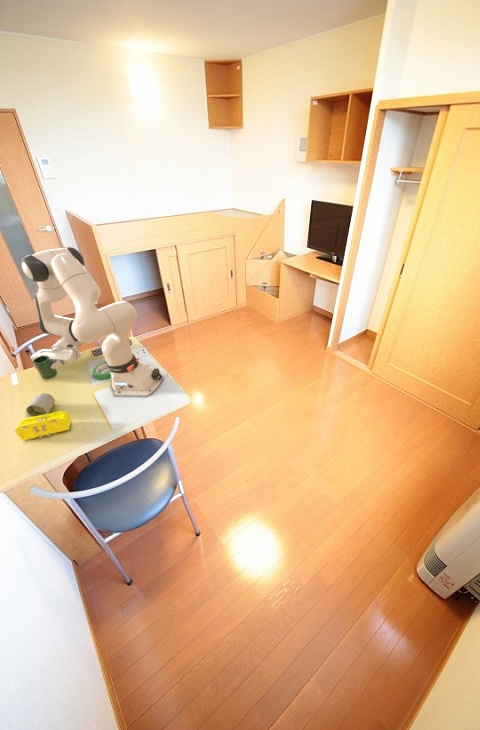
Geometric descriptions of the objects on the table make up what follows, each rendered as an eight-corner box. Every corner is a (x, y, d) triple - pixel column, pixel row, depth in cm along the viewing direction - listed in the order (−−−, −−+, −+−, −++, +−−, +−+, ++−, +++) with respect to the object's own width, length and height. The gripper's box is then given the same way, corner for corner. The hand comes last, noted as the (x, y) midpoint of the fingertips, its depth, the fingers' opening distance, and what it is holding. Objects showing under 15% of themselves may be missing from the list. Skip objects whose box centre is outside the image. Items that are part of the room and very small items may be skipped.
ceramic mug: (59, 403, 128) (51, 390, 124) (50, 417, 122) (41, 404, 117) (33, 405, 128) (24, 392, 123) (23, 420, 121) (13, 407, 116)
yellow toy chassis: (23, 442, 112) (11, 428, 107) (27, 431, 116) (16, 417, 111) (70, 431, 116) (61, 417, 111) (72, 421, 121) (64, 407, 116)
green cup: (60, 371, 143) (51, 356, 137) (50, 380, 138) (40, 364, 132) (49, 369, 144) (40, 354, 138) (38, 378, 139) (29, 362, 133)
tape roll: (94, 368, 148) (92, 364, 146) (117, 362, 152) (116, 358, 150) (94, 382, 140) (92, 377, 138) (118, 375, 143) (117, 371, 142)
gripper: (39, 344, 147) (19, 361, 136) (78, 346, 146) (61, 363, 135) (45, 354, 151) (25, 371, 140) (83, 356, 149) (66, 373, 138)
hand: (43, 367), depth 137 cm, fingers closed on green cup, 6 cm apart
